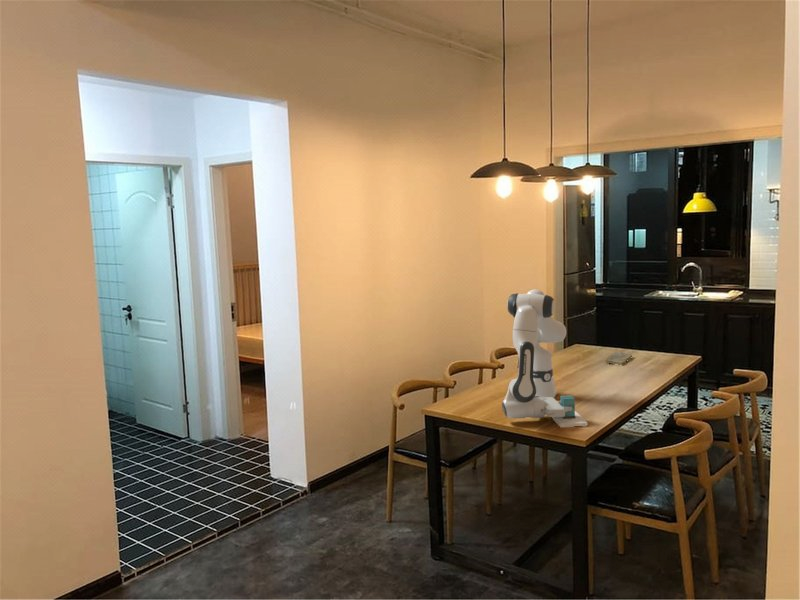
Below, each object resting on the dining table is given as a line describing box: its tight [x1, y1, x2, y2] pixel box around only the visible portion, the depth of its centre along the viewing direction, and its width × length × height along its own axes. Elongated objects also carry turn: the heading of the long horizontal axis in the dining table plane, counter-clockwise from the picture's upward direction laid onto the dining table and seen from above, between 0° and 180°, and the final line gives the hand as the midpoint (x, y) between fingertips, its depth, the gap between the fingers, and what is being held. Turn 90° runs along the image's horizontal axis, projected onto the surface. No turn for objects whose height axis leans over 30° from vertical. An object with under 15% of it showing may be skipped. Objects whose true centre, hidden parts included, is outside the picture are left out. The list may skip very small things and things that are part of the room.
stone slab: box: [604, 351, 633, 366], centre depth 405 cm, size 12×4×30 cm
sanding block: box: [559, 395, 576, 419], centre depth 285 cm, size 5×5×9 cm
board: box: [551, 410, 589, 428], centre depth 288 cm, size 24×12×2 cm, turn 1°
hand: (569, 406), depth 285 cm, fingers closed on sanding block, 5 cm apart
